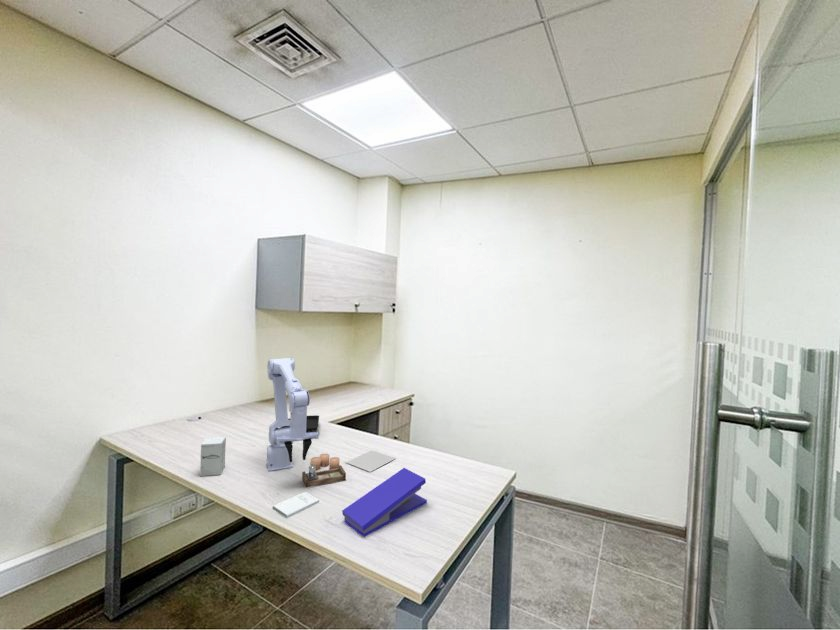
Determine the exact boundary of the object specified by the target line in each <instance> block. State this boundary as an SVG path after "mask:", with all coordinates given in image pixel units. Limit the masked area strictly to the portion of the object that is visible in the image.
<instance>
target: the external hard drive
mask: <svg viewBox="0 0 840 630" xmlns="http://www.w3.org/2000/svg"><path fill="white" fill-rule="evenodd" d="M318 503H320V499H319V498H317V497H315V496H313V495H312V494H310V493H309V492H307V491H304V492H301V493H299V494H297V495H295V496H292V497H290V498H288V499H286V500H284V501H281V502H279V503H276V504H274V505H272V510H274V511H275V512H276V513H278V514H280V515H281V516H283V517H284V518H286V519H289V518H291V517H292V516H294V515H296V514H298V513H300V512H302V511H303V512H304V510H306V509H308V508H310V507H312V506H314V505H317V504H318Z"/></svg>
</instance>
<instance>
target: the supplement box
mask: <svg viewBox="0 0 840 630" xmlns="http://www.w3.org/2000/svg"><path fill="white" fill-rule="evenodd" d="M226 442H227V437H226V436H218V437H217V436H216V437H215V436H213V437H205V438H204V440H203V441H202V442H201V444H200V470H199V473H200V474H199V476H200V477H204V476H205V477H207V476H220V475H221V474H223V471H224V469H225V466H226V445H227V444H226Z"/></svg>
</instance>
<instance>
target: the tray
mask: <svg viewBox="0 0 840 630" xmlns="http://www.w3.org/2000/svg"><path fill="white" fill-rule="evenodd" d="M288 419H289V420H290V418H288ZM319 420H320V415H319V414H318V415H307V421H306V433H312V432H315V431H317V430H318V428H319V423H320V421H319ZM284 427H288V426H283V427H282V428H284ZM278 428H279V427H277V428H275V429H278Z"/></svg>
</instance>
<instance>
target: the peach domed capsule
mask: <svg viewBox="0 0 840 630" xmlns="http://www.w3.org/2000/svg"><path fill="white" fill-rule="evenodd" d="M311 465H315V466H316V471H315V472H318V471H320V470H321V468H322V467H321V458H320V457H319V456H314V457H311V458H310V466H311Z"/></svg>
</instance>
